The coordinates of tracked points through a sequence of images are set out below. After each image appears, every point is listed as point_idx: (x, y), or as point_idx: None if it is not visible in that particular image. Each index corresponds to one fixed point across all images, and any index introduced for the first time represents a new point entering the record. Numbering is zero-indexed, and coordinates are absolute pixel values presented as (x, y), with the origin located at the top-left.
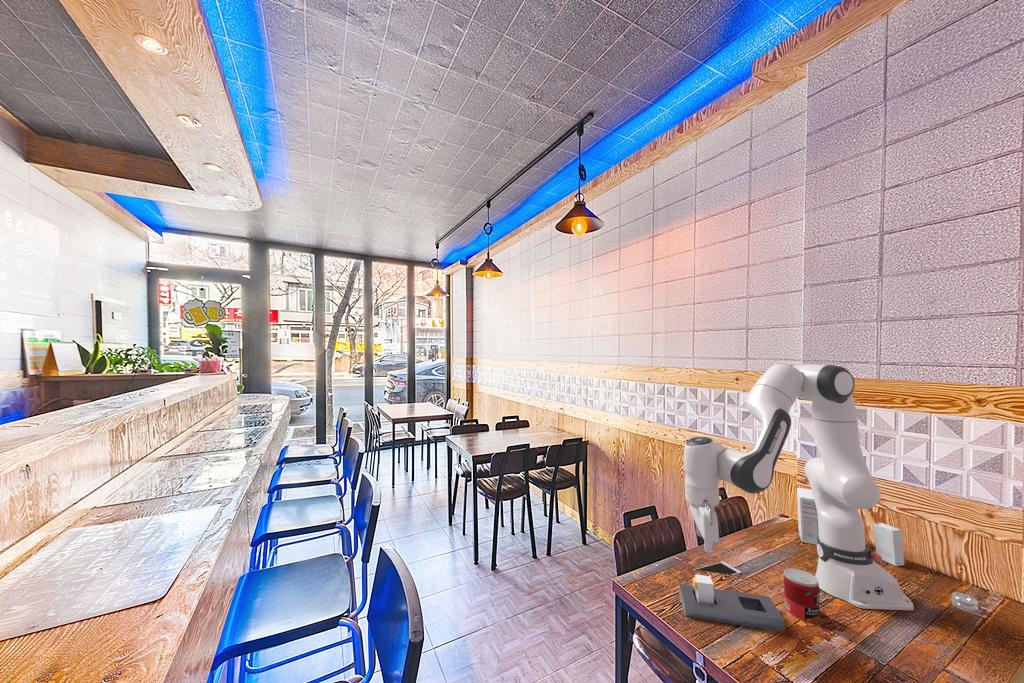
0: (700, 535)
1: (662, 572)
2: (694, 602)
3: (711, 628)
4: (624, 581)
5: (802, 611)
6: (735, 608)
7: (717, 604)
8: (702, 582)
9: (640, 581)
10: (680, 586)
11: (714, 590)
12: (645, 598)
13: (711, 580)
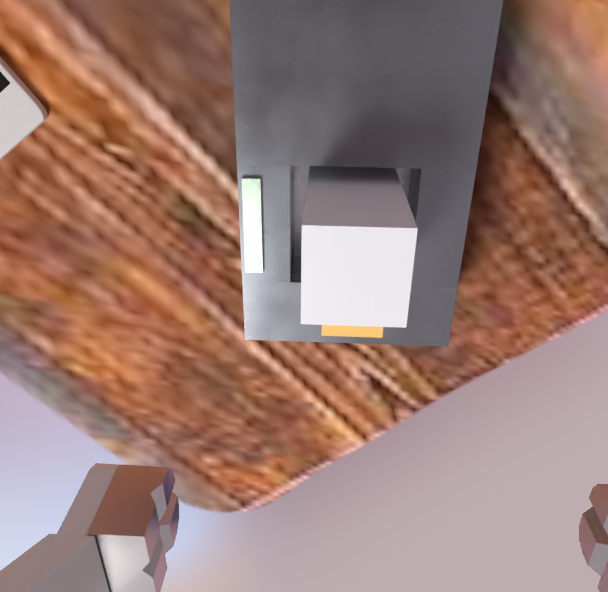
0: (171, 507)
1: (48, 343)
2: (418, 295)
3: (487, 200)
4: (204, 498)
5: None
6: (444, 55)
7: (416, 168)
8: (402, 298)
9: (179, 443)
10: (272, 337)
11: (260, 146)
12: (310, 438)
13: (361, 228)
